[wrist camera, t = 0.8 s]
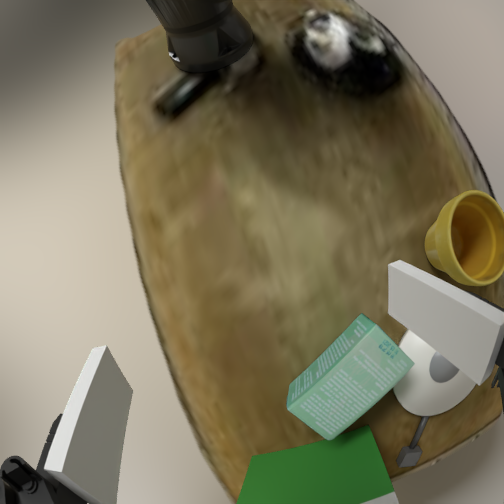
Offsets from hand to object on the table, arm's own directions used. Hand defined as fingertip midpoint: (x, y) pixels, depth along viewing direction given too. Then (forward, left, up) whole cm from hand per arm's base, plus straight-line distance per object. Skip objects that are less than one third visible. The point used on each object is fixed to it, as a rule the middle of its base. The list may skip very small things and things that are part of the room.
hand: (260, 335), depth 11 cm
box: (+9, +9, -23) cm, 26 cm away
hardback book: (+25, +9, -23) cm, 35 cm away
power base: (+12, +24, -23) cm, 35 cm away
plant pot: (-9, +21, -23) cm, 32 cm away
